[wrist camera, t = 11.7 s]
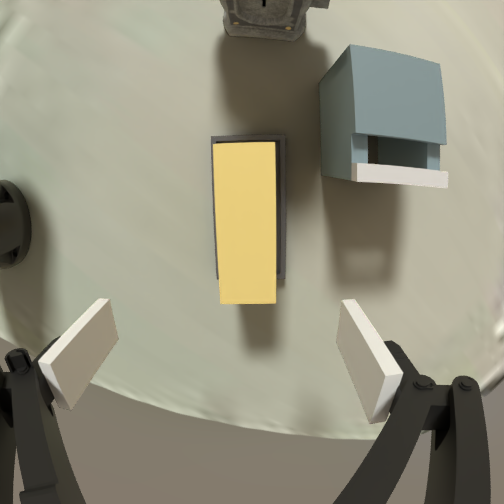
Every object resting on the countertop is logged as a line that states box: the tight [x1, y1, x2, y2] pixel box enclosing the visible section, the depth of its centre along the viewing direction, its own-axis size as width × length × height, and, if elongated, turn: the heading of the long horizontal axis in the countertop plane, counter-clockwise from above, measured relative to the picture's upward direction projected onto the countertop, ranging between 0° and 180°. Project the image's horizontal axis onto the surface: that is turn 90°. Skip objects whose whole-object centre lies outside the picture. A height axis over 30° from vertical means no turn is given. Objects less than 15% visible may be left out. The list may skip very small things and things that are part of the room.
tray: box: [211, 135, 286, 279], centre depth 36 cm, size 9×18×2 cm, turn 1°
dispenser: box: [319, 44, 448, 188], centre depth 27 cm, size 9×12×14 cm
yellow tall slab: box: [213, 142, 276, 304], centre depth 31 cm, size 5×14×12 cm, turn 1°
